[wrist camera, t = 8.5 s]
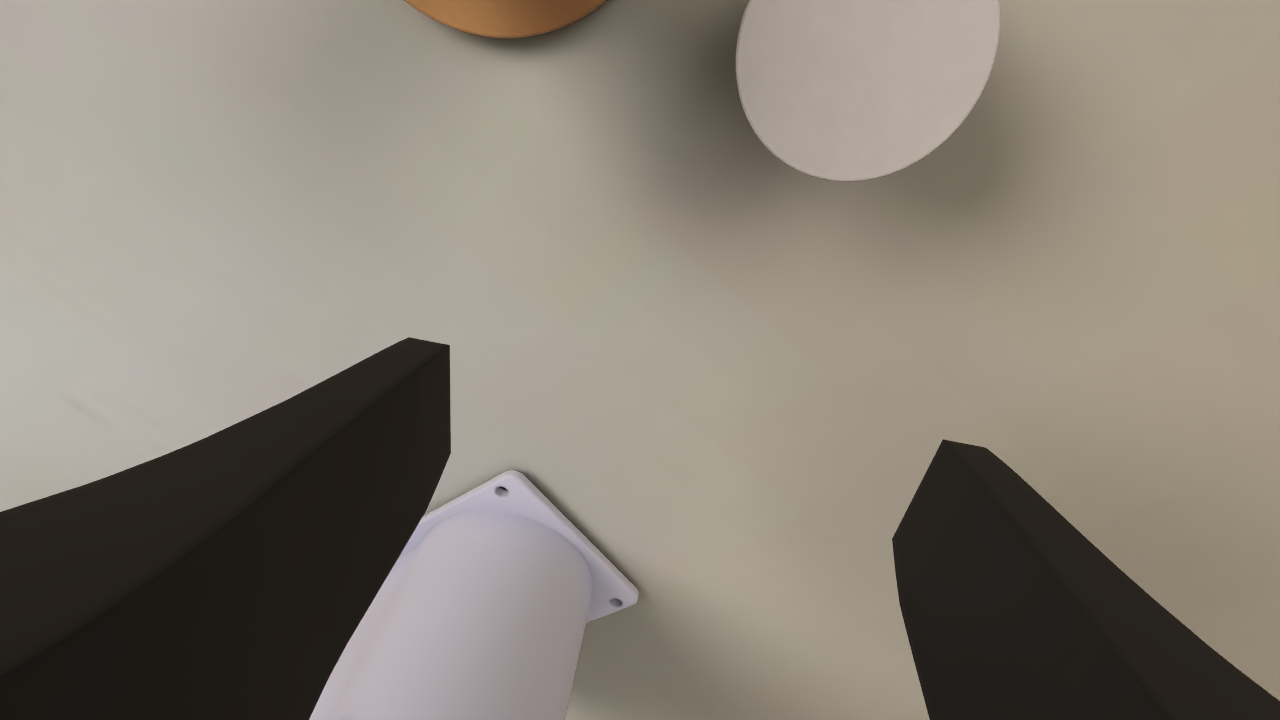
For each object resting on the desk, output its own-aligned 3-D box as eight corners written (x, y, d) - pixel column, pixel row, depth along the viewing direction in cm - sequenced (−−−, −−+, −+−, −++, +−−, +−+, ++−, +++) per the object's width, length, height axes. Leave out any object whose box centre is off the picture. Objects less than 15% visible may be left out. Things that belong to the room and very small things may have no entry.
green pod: (795, 169, 18) (812, 225, 14) (697, 8, 16) (687, 25, 12) (970, 57, 16) (1041, 88, 12) (880, -138, 14) (932, -171, 10)
